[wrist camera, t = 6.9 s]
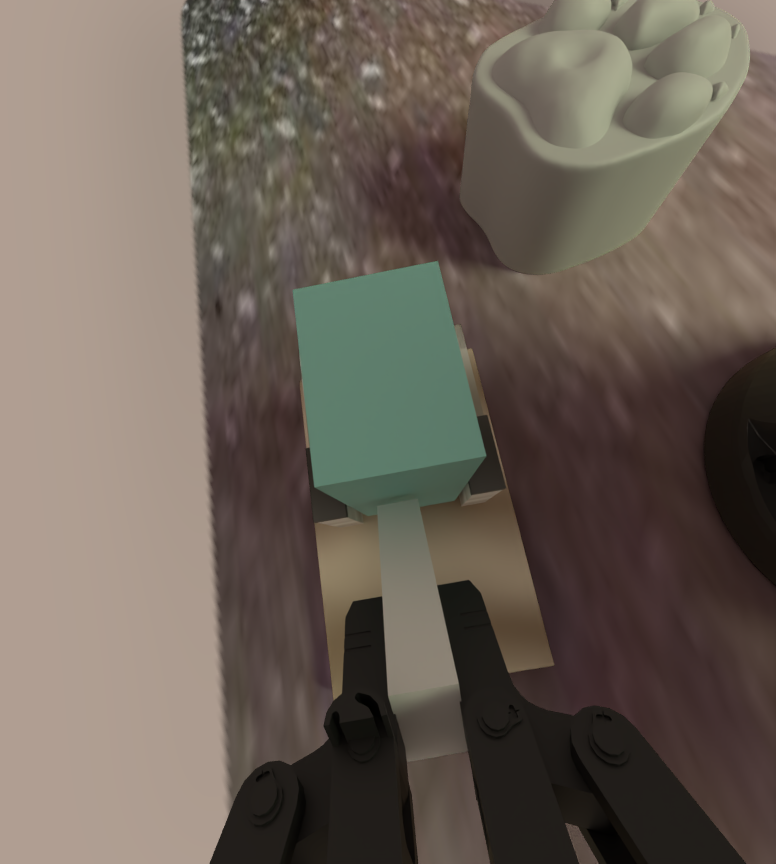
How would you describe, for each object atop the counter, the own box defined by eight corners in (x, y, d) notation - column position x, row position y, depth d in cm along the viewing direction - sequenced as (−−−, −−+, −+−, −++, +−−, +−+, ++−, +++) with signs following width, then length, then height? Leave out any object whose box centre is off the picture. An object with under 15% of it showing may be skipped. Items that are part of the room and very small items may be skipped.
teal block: (454, 500, 19) (486, 456, 10) (367, 516, 19) (314, 487, 10) (430, 391, 21) (437, 260, 11) (351, 405, 21) (292, 289, 12)
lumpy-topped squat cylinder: (443, 179, 27) (453, 16, 18) (607, 107, 27) (688, -83, 19) (521, 293, 24) (574, 157, 15) (704, 209, 24) (849, 35, 16)
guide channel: (547, 659, 18) (604, 710, 12) (338, 693, 18) (300, 758, 13) (469, 356, 23) (485, 294, 17) (304, 388, 23) (266, 337, 17)
